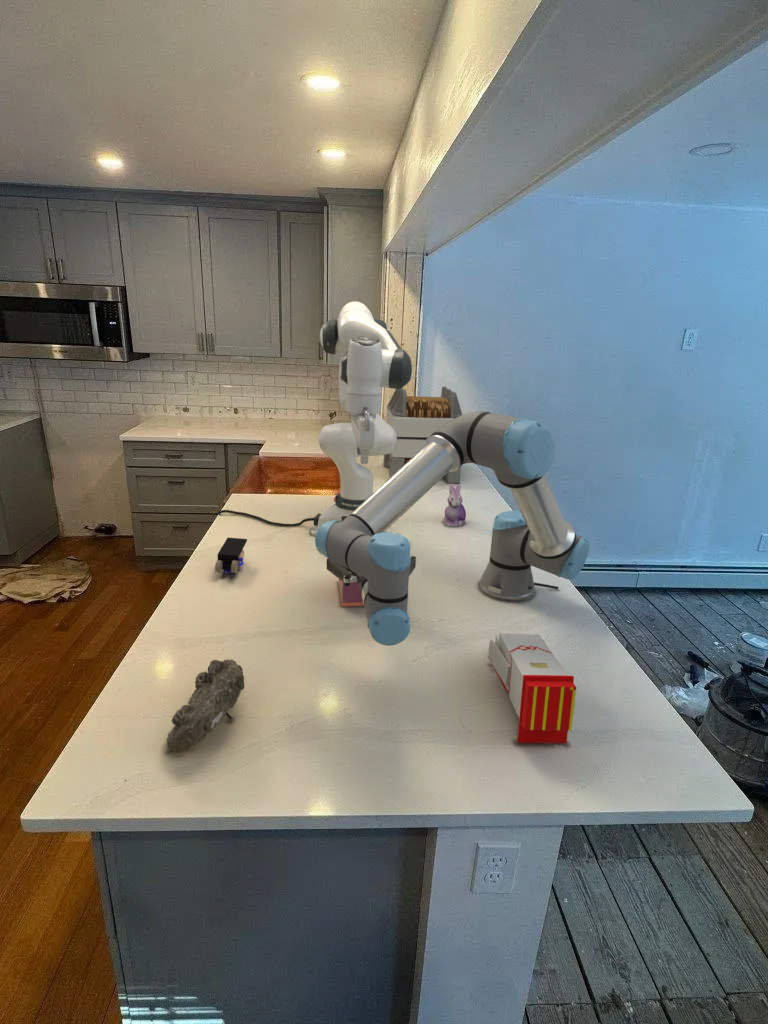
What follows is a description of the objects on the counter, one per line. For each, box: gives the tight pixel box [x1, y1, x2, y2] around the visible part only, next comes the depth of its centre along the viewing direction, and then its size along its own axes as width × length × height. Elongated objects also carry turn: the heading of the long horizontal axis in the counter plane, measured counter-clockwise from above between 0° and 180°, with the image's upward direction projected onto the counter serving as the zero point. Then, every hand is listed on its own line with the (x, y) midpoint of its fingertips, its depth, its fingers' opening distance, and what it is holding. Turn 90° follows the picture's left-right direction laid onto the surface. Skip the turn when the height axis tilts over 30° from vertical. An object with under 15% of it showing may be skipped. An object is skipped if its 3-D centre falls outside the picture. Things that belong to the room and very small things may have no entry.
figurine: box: [443, 483, 467, 528], centre depth 210 cm, size 9×10×15 cm
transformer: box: [383, 386, 463, 484], centre depth 268 cm, size 34×33×41 cm
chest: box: [338, 578, 364, 607], centre depth 156 cm, size 14×10×9 cm
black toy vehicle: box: [214, 537, 248, 578], centre depth 166 cm, size 7×8×15 cm
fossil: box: [166, 658, 245, 754], centre depth 106 cm, size 22×10×15 cm
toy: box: [487, 632, 577, 744], centre depth 116 cm, size 12×13×30 cm
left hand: (362, 458), depth 146 cm, fingers open, 8 cm apart
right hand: (367, 548), depth 135 cm, fingers open, 13 cm apart
